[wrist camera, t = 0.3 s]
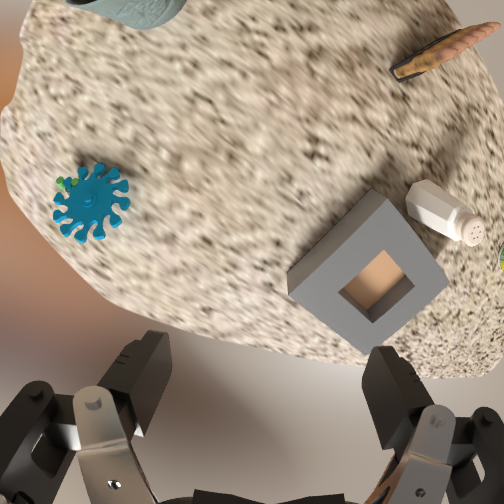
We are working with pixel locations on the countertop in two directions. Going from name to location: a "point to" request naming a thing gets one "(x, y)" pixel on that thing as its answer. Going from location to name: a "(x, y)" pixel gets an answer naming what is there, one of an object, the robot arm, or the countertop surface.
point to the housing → (367, 274)
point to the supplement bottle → (501, 258)
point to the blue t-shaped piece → (90, 202)
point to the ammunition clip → (441, 50)
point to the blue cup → (133, 10)
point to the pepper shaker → (444, 213)
